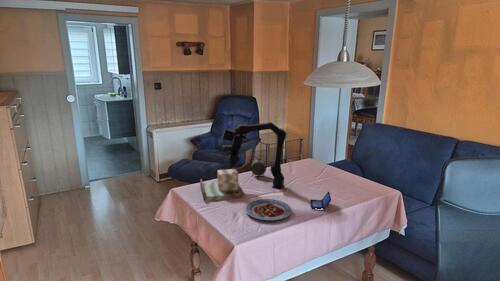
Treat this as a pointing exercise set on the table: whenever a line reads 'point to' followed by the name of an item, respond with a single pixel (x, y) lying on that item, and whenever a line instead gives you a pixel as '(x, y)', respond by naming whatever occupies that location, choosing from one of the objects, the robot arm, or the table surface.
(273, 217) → the ceramic plate
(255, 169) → the alarm clock
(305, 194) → the table surface
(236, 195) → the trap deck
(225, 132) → the robot arm
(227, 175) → the birch block
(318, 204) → the handheld game console
